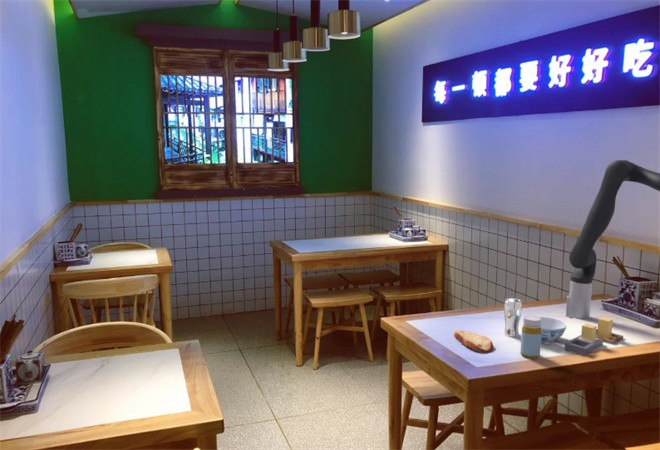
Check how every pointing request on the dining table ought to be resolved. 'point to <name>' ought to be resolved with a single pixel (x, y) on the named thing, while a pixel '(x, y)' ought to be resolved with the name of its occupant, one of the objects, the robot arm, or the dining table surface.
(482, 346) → the slice of bread
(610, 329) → the butter block
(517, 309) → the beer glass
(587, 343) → the butter dish
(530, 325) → the bottle
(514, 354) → the dining table surface
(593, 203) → the robot arm
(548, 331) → the chinaware
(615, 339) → the tray
